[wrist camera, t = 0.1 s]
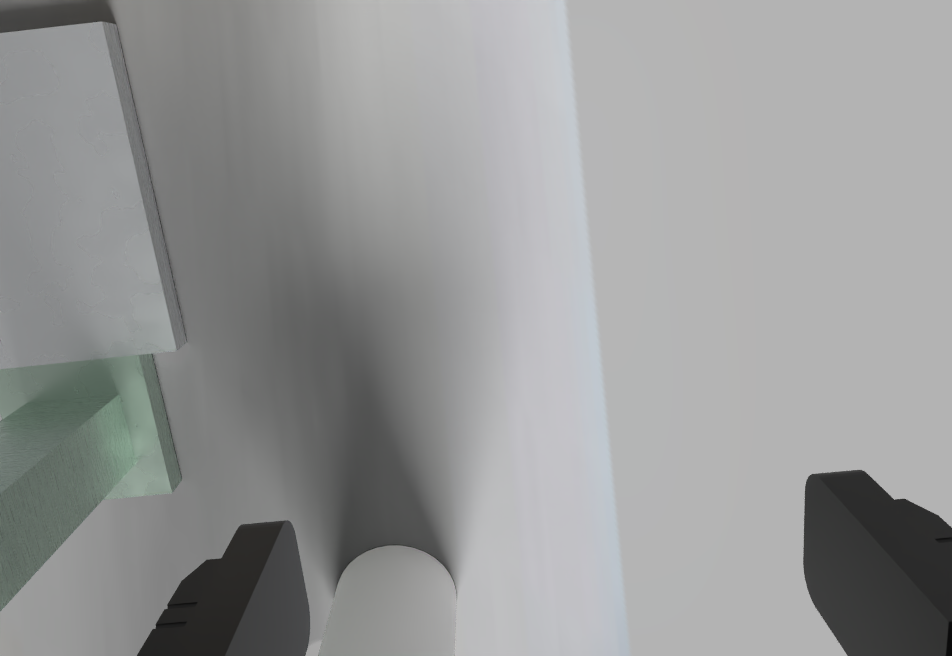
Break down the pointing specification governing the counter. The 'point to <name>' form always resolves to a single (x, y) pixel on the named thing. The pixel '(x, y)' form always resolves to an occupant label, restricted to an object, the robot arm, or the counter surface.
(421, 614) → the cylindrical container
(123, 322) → the press
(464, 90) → the counter surface
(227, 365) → the counter surface
